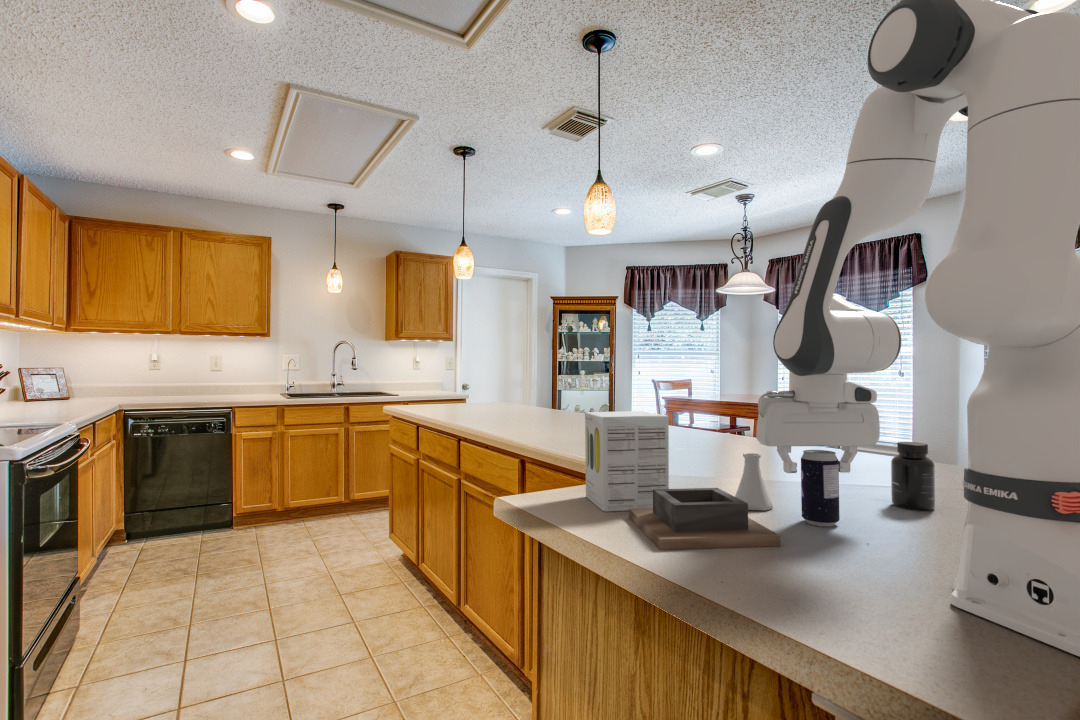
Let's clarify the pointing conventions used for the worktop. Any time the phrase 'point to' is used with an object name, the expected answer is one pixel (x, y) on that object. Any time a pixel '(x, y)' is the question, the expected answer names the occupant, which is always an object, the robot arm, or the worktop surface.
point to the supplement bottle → (913, 477)
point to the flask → (753, 485)
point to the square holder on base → (700, 521)
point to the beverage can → (820, 487)
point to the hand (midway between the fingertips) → (816, 472)
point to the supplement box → (625, 458)
